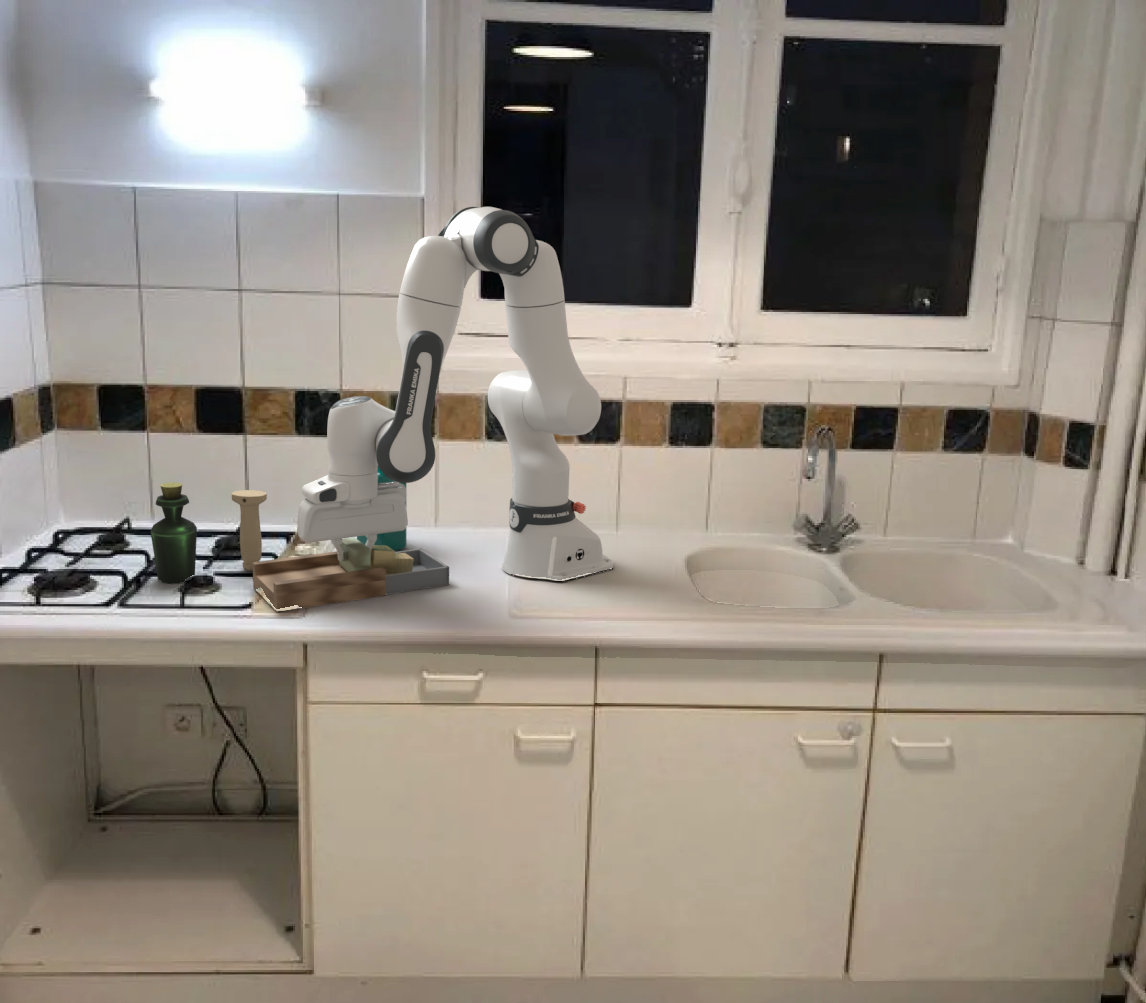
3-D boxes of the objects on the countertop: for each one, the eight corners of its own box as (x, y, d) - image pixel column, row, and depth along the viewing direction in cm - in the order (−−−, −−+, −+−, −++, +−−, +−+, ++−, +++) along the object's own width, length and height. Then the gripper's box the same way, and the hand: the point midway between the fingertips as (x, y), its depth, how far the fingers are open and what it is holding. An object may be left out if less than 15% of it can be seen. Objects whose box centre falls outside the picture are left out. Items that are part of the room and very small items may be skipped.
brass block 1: (383, 565, 207) (386, 545, 206) (392, 571, 203) (395, 551, 203) (364, 565, 204) (367, 544, 204) (372, 571, 201) (375, 550, 200)
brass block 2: (383, 572, 207) (402, 573, 209) (391, 578, 204) (410, 579, 206) (386, 552, 206) (405, 553, 208) (394, 558, 203) (413, 558, 205)
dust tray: (420, 565, 216) (420, 548, 215) (449, 584, 205) (449, 567, 204) (358, 574, 209) (358, 557, 208) (384, 594, 199) (384, 576, 198)
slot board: (357, 573, 210) (357, 548, 208) (385, 595, 198) (385, 569, 197) (253, 588, 199) (252, 562, 198) (276, 612, 188) (276, 584, 187)
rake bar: (354, 562, 205) (354, 537, 204) (370, 574, 199) (370, 548, 198) (339, 564, 204) (338, 539, 203) (354, 577, 197) (354, 550, 196)
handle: (263, 573, 208) (260, 497, 204) (230, 571, 208) (227, 495, 204) (272, 565, 212) (270, 491, 208) (240, 563, 213) (237, 489, 209)
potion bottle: (159, 571, 206) (154, 479, 202) (204, 571, 207) (199, 479, 203) (148, 585, 199) (141, 490, 194) (194, 585, 199) (189, 490, 195)
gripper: (399, 476, 205) (400, 547, 209) (293, 487, 195) (295, 561, 198) (413, 484, 200) (413, 555, 204) (304, 495, 190) (306, 571, 193)
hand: (354, 558), depth 201 cm, fingers closed on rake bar, 3 cm apart
